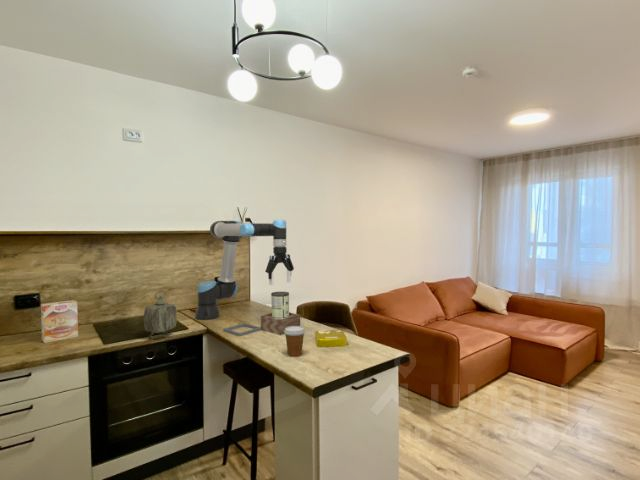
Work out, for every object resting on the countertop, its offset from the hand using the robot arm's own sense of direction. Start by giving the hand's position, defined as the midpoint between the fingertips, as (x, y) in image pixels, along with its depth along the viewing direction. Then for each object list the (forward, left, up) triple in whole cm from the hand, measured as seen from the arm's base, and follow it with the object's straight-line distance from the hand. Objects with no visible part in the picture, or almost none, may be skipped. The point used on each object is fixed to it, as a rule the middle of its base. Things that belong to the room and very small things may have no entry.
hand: (280, 283), depth 203 cm
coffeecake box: (-79, -87, -27) cm, 120 cm away
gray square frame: (-15, -16, -27) cm, 34 cm away
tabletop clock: (-39, -51, -27) cm, 70 cm away
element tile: (+37, 0, -27) cm, 46 cm away
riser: (0, 0, -27) cm, 27 cm away
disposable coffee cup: (+35, -24, -27) cm, 50 cm away
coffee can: (0, 0, -20) cm, 20 cm away
